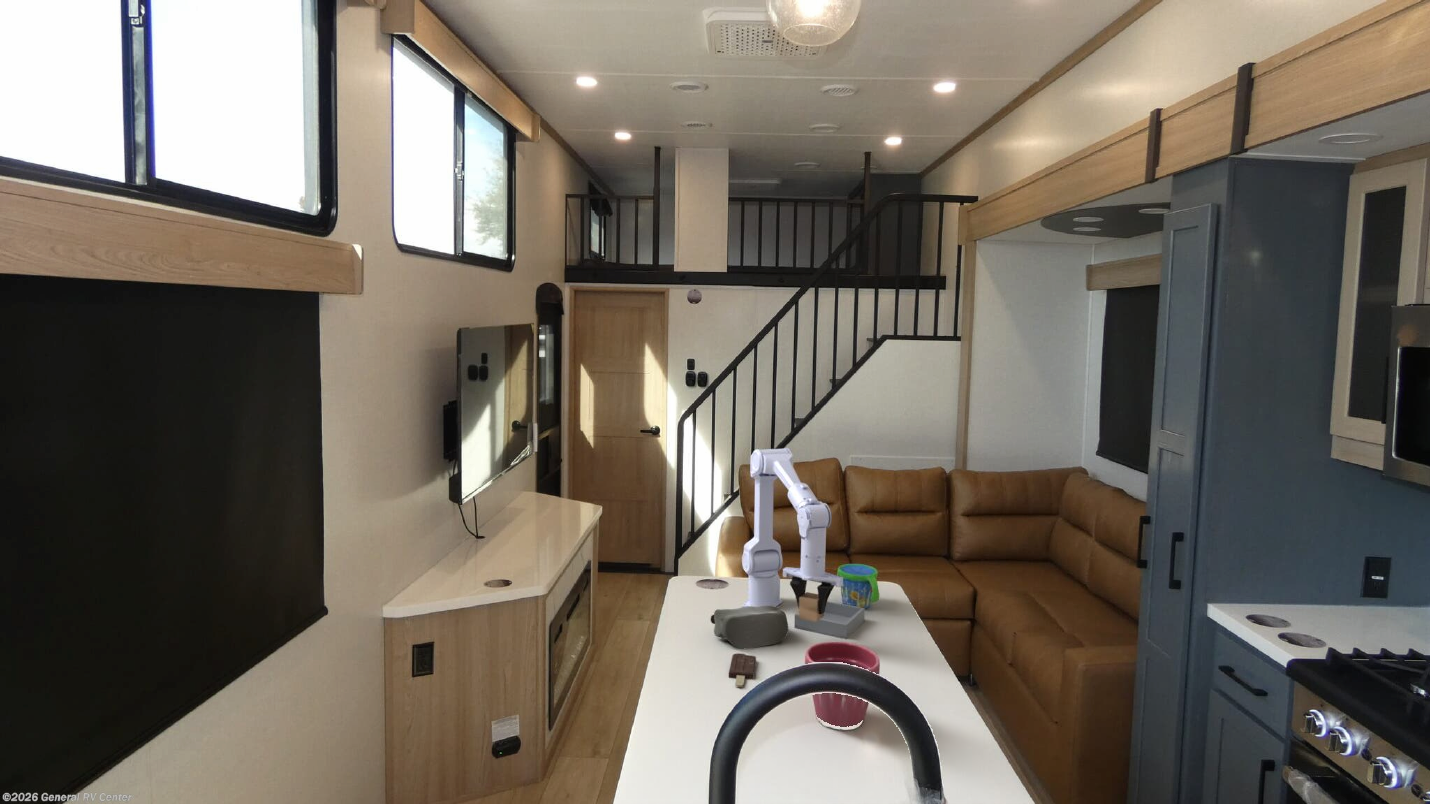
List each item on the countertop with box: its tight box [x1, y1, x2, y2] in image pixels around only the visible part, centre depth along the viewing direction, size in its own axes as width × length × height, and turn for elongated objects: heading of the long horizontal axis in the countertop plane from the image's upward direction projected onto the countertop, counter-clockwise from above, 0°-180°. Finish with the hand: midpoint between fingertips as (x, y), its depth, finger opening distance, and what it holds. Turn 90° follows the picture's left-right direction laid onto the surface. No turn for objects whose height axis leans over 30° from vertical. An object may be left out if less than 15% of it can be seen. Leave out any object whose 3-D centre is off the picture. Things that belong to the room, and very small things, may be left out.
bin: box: [794, 600, 866, 640], centre depth 201 cm, size 14×14×4 cm
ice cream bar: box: [728, 652, 757, 688], centre depth 173 cm, size 5×2×15 cm
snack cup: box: [836, 563, 880, 610], centre depth 215 cm, size 16×10×10 cm
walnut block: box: [798, 591, 824, 622], centre depth 188 cm, size 4×4×5 cm
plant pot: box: [804, 641, 881, 727], centre depth 152 cm, size 14×14×13 cm
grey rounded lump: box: [710, 606, 789, 650], centre depth 192 cm, size 18×11×8 cm, turn 107°
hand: (811, 610), depth 188 cm, fingers closed on walnut block, 4 cm apart
